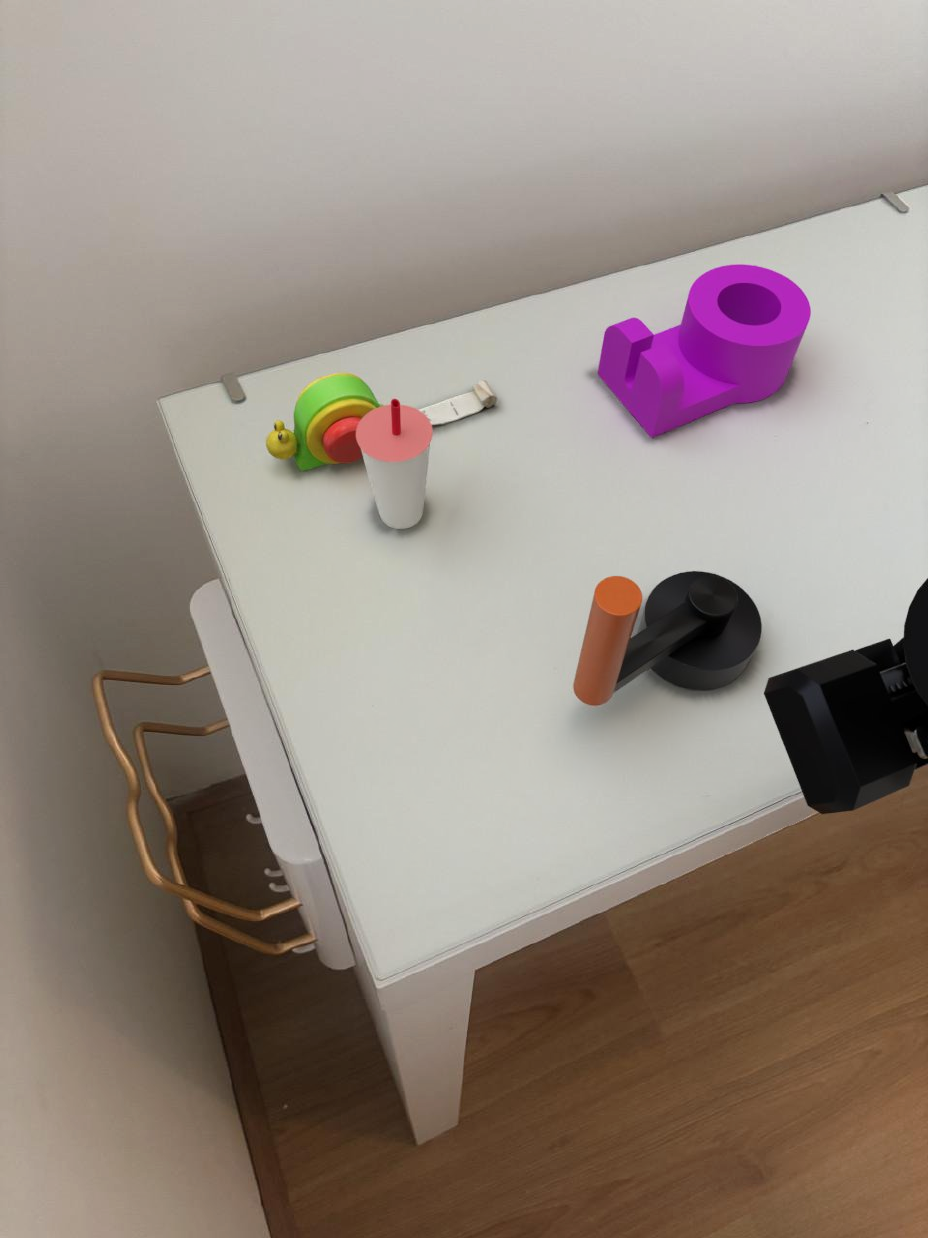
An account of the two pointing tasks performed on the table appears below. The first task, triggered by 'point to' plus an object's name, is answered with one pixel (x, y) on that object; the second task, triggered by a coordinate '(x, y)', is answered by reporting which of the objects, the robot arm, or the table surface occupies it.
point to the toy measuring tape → (350, 419)
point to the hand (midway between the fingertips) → (824, 719)
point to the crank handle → (642, 632)
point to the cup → (396, 461)
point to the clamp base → (704, 637)
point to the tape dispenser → (708, 348)
